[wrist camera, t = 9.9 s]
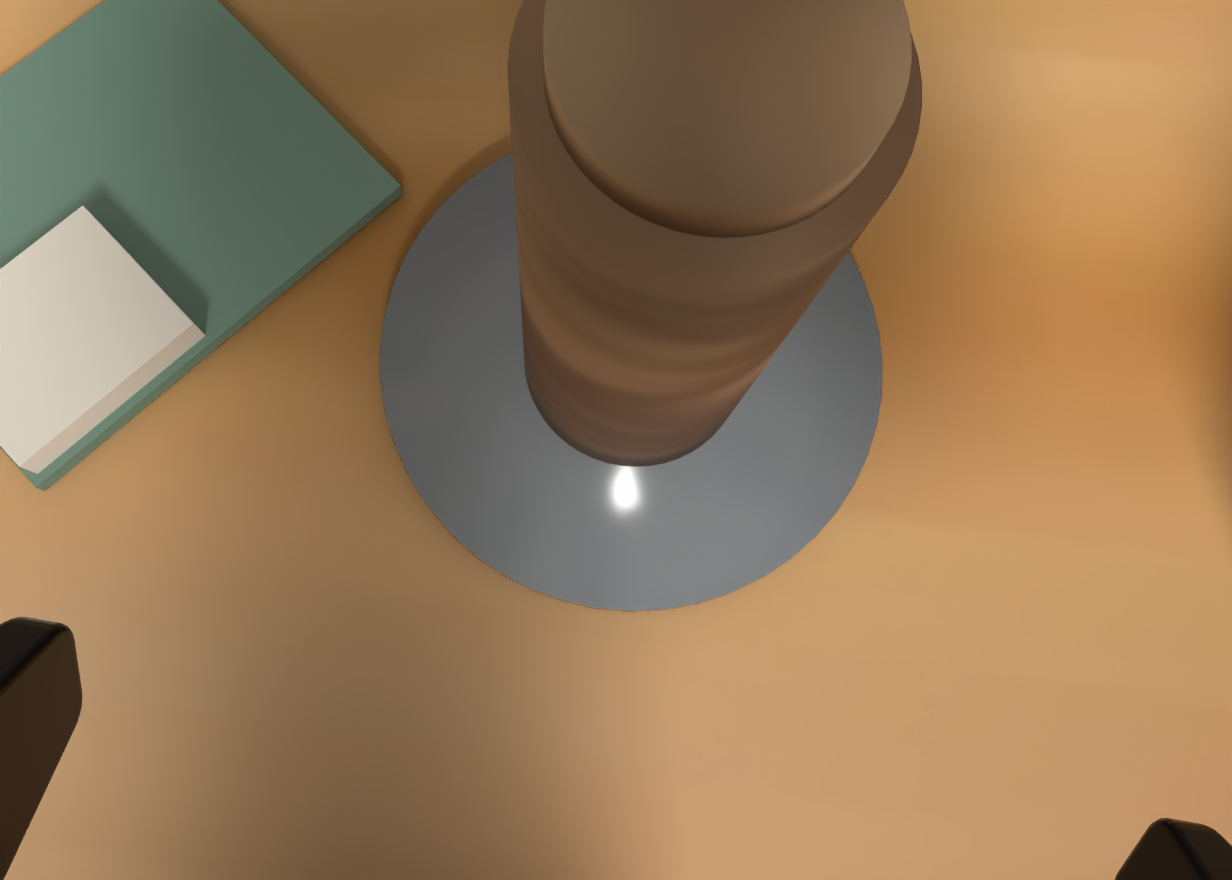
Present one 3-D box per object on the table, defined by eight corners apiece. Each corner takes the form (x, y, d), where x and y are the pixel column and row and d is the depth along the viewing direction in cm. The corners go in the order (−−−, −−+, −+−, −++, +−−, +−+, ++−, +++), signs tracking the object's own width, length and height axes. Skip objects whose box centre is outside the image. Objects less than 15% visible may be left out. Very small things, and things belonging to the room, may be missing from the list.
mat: (44, 490, 22) (16, 480, 21) (-188, 229, 23) (-227, 206, 22) (403, 193, 24) (396, 168, 23) (176, -37, 25) (158, -72, 24)
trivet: (629, 723, 22) (631, 723, 21) (279, 352, 23) (272, 344, 23) (972, 373, 24) (982, 365, 24) (635, 52, 25) (637, 37, 25)
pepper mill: (574, 500, 22) (611, 309, 11) (491, 300, 23) (438, -84, 11) (778, 417, 23) (1023, 153, 11) (690, 226, 24) (833, -207, 12)
